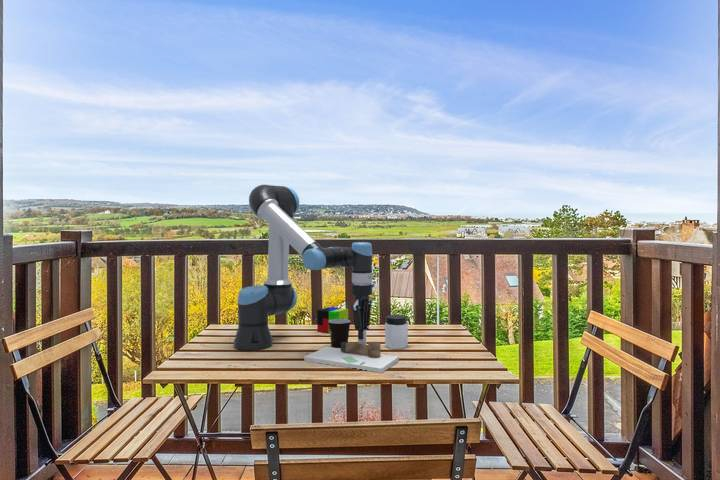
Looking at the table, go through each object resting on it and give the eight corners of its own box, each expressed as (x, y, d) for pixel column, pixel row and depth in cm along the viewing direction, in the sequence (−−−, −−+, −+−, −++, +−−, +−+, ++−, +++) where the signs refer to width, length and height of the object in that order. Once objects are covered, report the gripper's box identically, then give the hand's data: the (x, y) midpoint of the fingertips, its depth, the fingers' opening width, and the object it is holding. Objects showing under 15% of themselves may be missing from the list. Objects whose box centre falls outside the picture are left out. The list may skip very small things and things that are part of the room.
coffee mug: (347, 349, 176) (347, 324, 176) (326, 348, 178) (326, 323, 177) (353, 342, 187) (353, 318, 187) (333, 341, 189) (333, 317, 189)
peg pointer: (339, 352, 165) (339, 340, 165) (345, 349, 169) (345, 337, 169) (377, 357, 158) (377, 345, 158) (382, 354, 162) (382, 342, 162)
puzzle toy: (331, 327, 214) (331, 306, 214) (348, 330, 208) (348, 309, 208) (317, 331, 206) (317, 309, 206) (334, 334, 200) (334, 312, 200)
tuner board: (304, 361, 161) (304, 356, 161) (326, 350, 174) (326, 346, 174) (381, 373, 148) (381, 368, 148) (398, 360, 161) (398, 356, 161)
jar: (406, 343, 184) (406, 314, 184) (408, 349, 176) (408, 318, 176) (384, 343, 184) (384, 314, 184) (385, 349, 176) (385, 318, 176)
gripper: (363, 286, 160) (363, 352, 161) (378, 282, 172) (378, 344, 173) (344, 285, 164) (344, 350, 164) (360, 281, 175) (360, 342, 176)
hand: (362, 347), depth 169 cm, fingers closed
